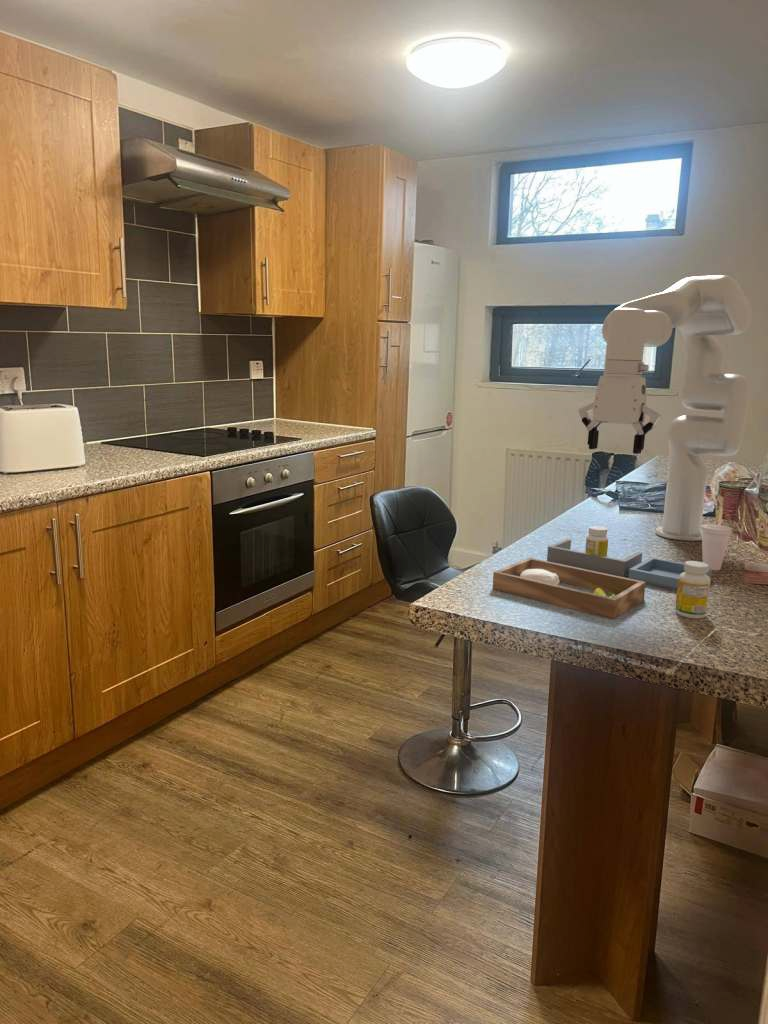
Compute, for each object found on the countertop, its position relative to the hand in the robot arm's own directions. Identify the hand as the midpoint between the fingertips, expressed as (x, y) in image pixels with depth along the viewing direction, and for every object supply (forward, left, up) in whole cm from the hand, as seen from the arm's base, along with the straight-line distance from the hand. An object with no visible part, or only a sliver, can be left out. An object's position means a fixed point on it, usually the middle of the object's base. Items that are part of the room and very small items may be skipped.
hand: (614, 451), depth 157 cm
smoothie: (-18, +18, -27) cm, 36 cm away
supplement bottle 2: (+17, +24, -27) cm, 40 cm away
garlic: (+22, -4, -27) cm, 35 cm away
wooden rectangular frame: (+22, +2, -26) cm, 34 cm away
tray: (-2, +14, -26) cm, 30 cm away
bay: (-2, -3, -26) cm, 27 cm away
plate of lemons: (+21, +10, -27) cm, 36 cm away
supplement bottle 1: (-3, -3, -27) cm, 27 cm away
